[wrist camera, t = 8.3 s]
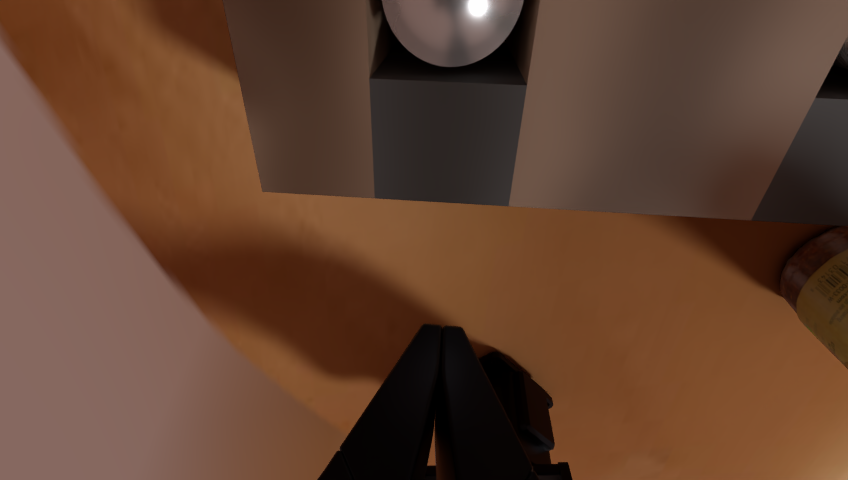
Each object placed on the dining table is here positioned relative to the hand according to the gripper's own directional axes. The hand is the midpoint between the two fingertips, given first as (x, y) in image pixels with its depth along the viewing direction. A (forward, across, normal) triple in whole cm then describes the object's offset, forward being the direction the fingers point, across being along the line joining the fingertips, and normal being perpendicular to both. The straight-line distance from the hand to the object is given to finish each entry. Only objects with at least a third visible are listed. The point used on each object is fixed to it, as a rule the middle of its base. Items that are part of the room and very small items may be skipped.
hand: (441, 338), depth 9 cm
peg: (+13, 0, -6) cm, 14 cm away
